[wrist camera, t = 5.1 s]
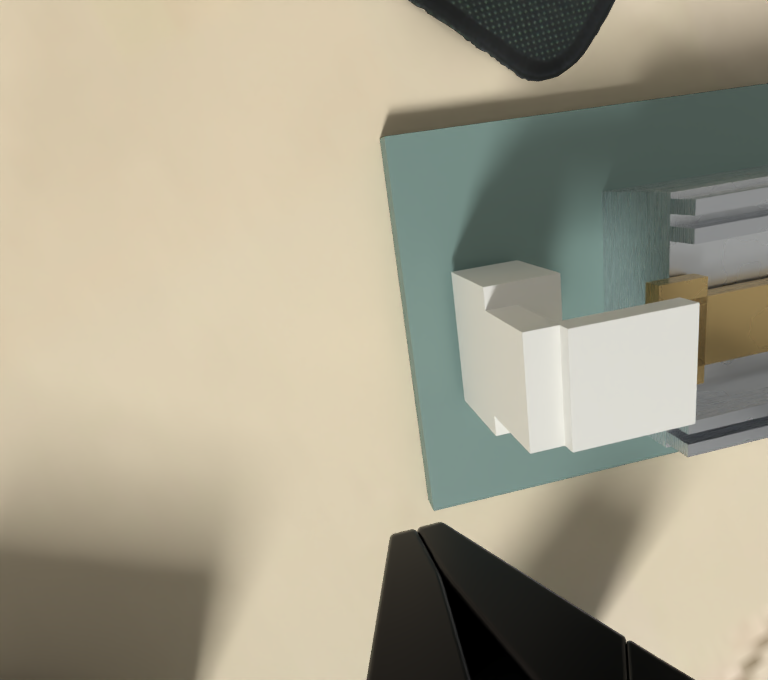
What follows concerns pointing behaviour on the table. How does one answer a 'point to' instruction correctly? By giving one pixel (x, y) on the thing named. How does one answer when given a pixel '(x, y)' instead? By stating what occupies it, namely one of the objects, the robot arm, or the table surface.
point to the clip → (571, 361)
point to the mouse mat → (525, 30)
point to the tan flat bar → (720, 316)
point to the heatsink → (704, 257)
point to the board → (533, 248)
